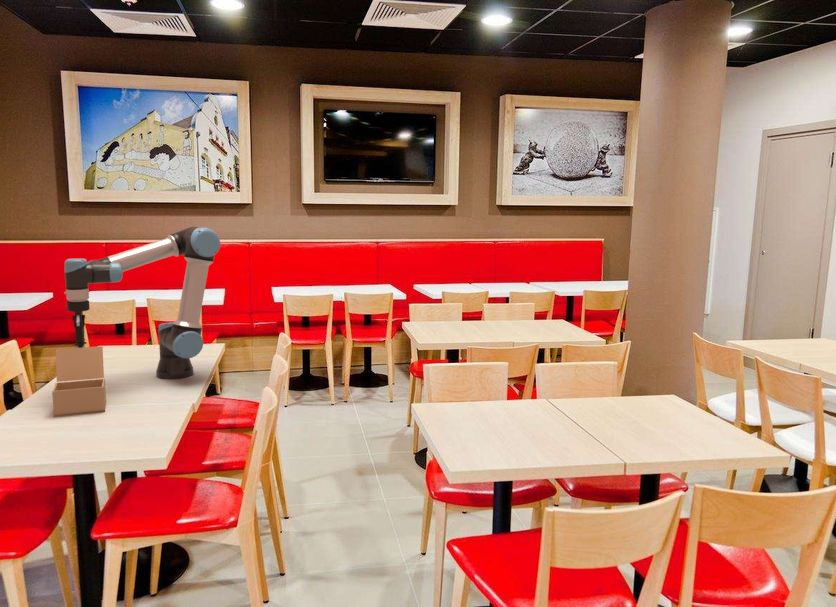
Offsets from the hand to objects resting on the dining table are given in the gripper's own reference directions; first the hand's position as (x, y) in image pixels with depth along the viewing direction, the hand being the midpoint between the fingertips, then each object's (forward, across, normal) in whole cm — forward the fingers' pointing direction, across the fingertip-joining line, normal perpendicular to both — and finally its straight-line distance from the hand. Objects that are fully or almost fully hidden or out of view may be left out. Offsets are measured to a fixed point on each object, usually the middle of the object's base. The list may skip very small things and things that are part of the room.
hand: (81, 361), depth 252 cm
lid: (-1, +9, 0) cm, 9 cm away
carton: (+14, +17, 0) cm, 22 cm away
